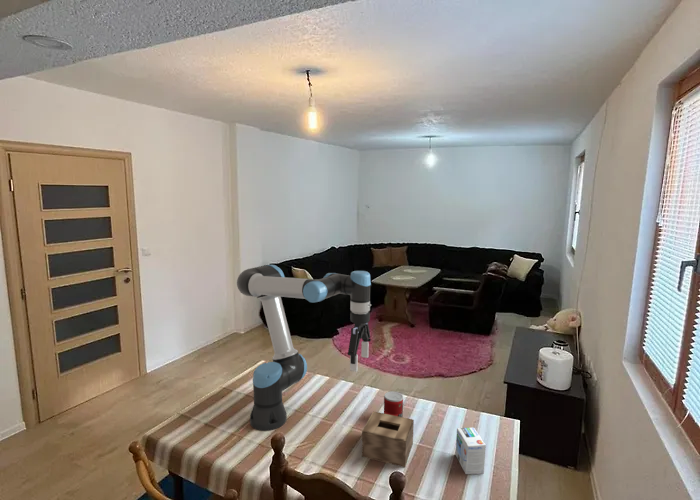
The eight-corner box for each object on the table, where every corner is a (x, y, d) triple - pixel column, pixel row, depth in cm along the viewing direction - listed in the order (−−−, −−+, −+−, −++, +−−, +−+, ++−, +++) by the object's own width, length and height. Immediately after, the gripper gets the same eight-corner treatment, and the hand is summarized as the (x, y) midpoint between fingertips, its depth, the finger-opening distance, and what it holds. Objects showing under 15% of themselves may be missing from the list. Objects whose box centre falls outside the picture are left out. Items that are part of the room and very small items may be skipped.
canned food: (401, 426, 161) (402, 401, 160) (382, 424, 163) (383, 399, 161) (403, 416, 169) (403, 392, 167) (384, 414, 170) (385, 390, 169)
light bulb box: (454, 454, 144) (456, 427, 143) (472, 453, 145) (474, 426, 143) (465, 475, 134) (467, 446, 132) (484, 474, 134) (486, 445, 133)
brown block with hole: (361, 456, 142) (362, 431, 141) (372, 434, 155) (373, 411, 154) (405, 467, 137) (405, 441, 136) (412, 443, 150) (413, 419, 149)
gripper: (359, 322, 138) (358, 379, 141) (378, 304, 161) (377, 353, 164) (339, 319, 140) (338, 375, 143) (361, 302, 163) (360, 350, 166)
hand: (359, 363), depth 153 cm, fingers open, 13 cm apart
